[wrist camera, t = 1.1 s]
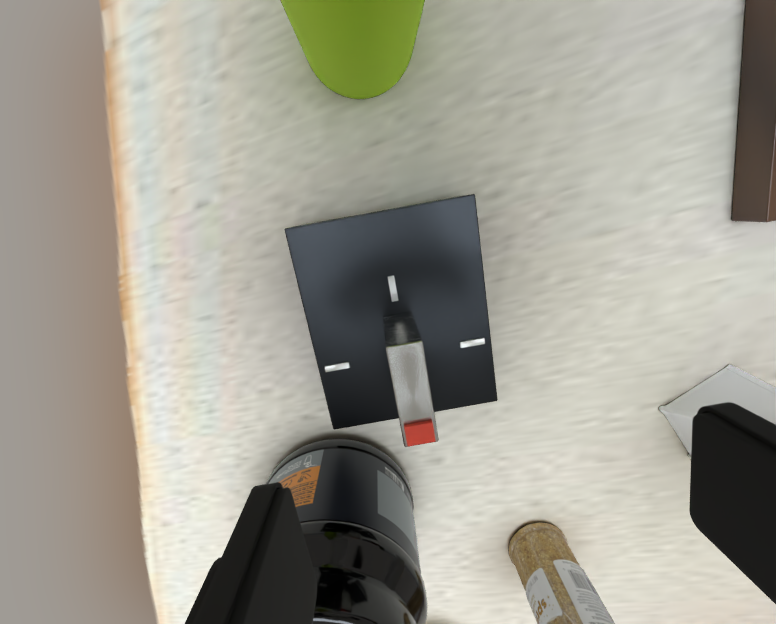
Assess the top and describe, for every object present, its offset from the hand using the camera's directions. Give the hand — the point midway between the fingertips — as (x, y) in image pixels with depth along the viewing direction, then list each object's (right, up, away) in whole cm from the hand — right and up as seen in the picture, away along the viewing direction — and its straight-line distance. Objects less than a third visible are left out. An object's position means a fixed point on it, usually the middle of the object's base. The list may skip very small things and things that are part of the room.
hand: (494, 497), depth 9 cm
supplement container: (-6, -9, +19) cm, 22 cm away
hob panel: (-2, +5, +15) cm, 16 cm away
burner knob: (-1, +2, +13) cm, 13 cm away
